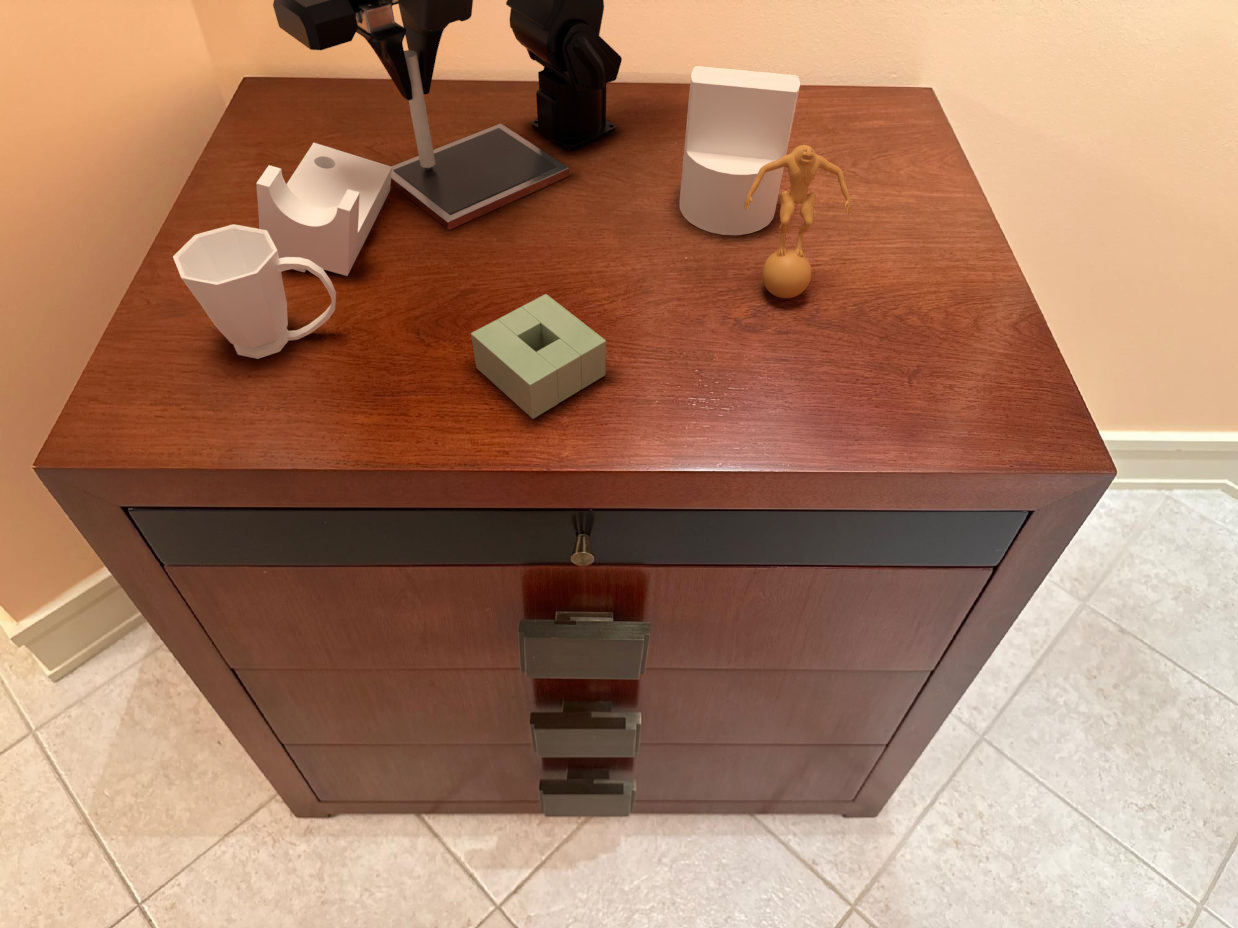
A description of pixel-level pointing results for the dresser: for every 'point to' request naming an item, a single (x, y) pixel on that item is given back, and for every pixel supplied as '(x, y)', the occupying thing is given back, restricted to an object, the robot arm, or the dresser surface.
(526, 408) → the pen stand
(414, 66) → the stylus
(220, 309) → the cup
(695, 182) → the cylinder with rectangular tab
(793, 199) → the figurine
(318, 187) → the bracket
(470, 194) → the tablet
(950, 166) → the dresser surface
